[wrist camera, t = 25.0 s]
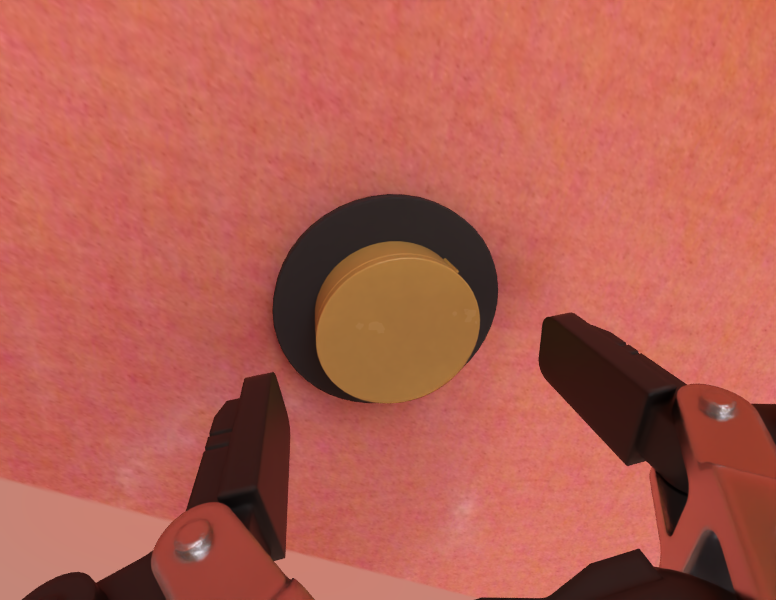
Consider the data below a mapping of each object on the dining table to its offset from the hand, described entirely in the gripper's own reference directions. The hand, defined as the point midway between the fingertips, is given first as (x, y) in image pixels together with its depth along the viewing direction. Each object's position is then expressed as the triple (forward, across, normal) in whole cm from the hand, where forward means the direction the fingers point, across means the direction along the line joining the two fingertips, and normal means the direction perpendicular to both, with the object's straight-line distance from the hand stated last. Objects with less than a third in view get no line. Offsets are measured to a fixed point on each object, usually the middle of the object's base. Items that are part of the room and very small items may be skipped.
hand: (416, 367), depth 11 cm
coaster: (+5, 0, 0) cm, 5 cm away
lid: (+3, 0, 0) cm, 3 cm away
